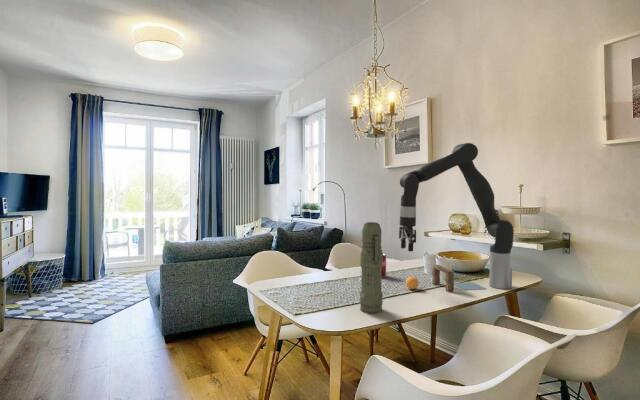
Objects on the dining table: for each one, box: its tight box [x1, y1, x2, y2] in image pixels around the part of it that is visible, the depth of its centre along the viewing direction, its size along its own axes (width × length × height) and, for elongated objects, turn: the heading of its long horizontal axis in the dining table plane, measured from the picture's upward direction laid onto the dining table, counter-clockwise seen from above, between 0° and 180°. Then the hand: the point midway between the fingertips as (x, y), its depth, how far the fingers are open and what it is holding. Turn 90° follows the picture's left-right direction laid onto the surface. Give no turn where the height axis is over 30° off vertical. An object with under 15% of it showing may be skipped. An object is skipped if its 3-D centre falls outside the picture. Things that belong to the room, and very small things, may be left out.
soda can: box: [381, 253, 387, 279], centre depth 198 cm, size 7×7×12 cm
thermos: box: [359, 221, 384, 315], centre depth 143 cm, size 9×12×35 cm
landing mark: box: [454, 281, 488, 291], centre depth 179 cm, size 12×12×1 cm
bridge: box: [431, 264, 455, 293], centre depth 176 cm, size 3×15×10 cm, turn 10°
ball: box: [405, 276, 420, 290], centre depth 173 cm, size 6×6×6 cm
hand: (406, 249), depth 171 cm, fingers open, 8 cm apart
